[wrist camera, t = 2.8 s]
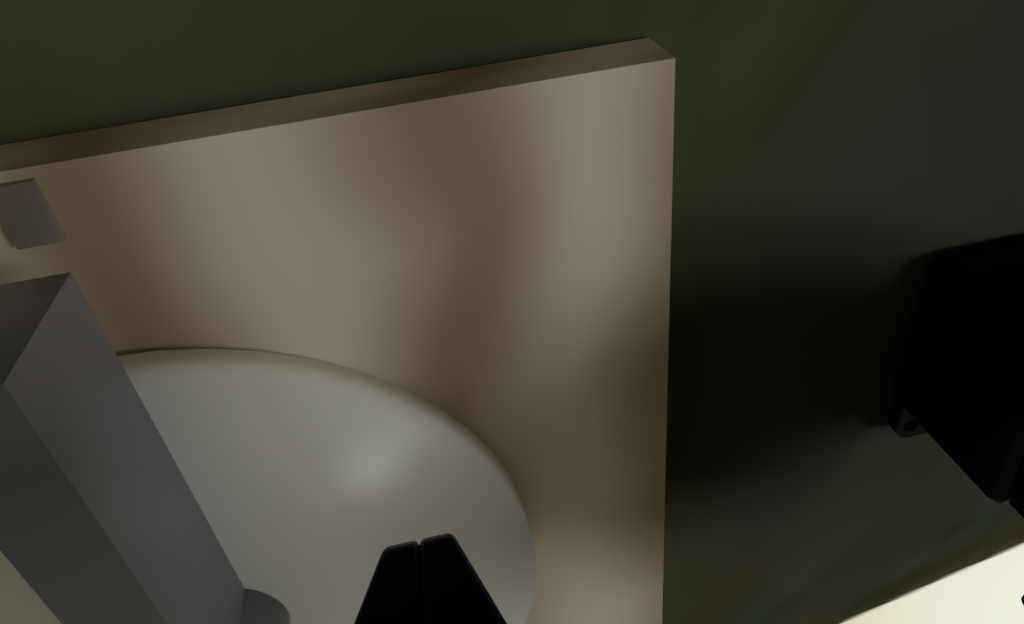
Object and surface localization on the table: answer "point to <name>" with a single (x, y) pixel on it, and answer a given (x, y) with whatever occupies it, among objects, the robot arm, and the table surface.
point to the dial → (222, 480)
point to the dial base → (415, 270)
